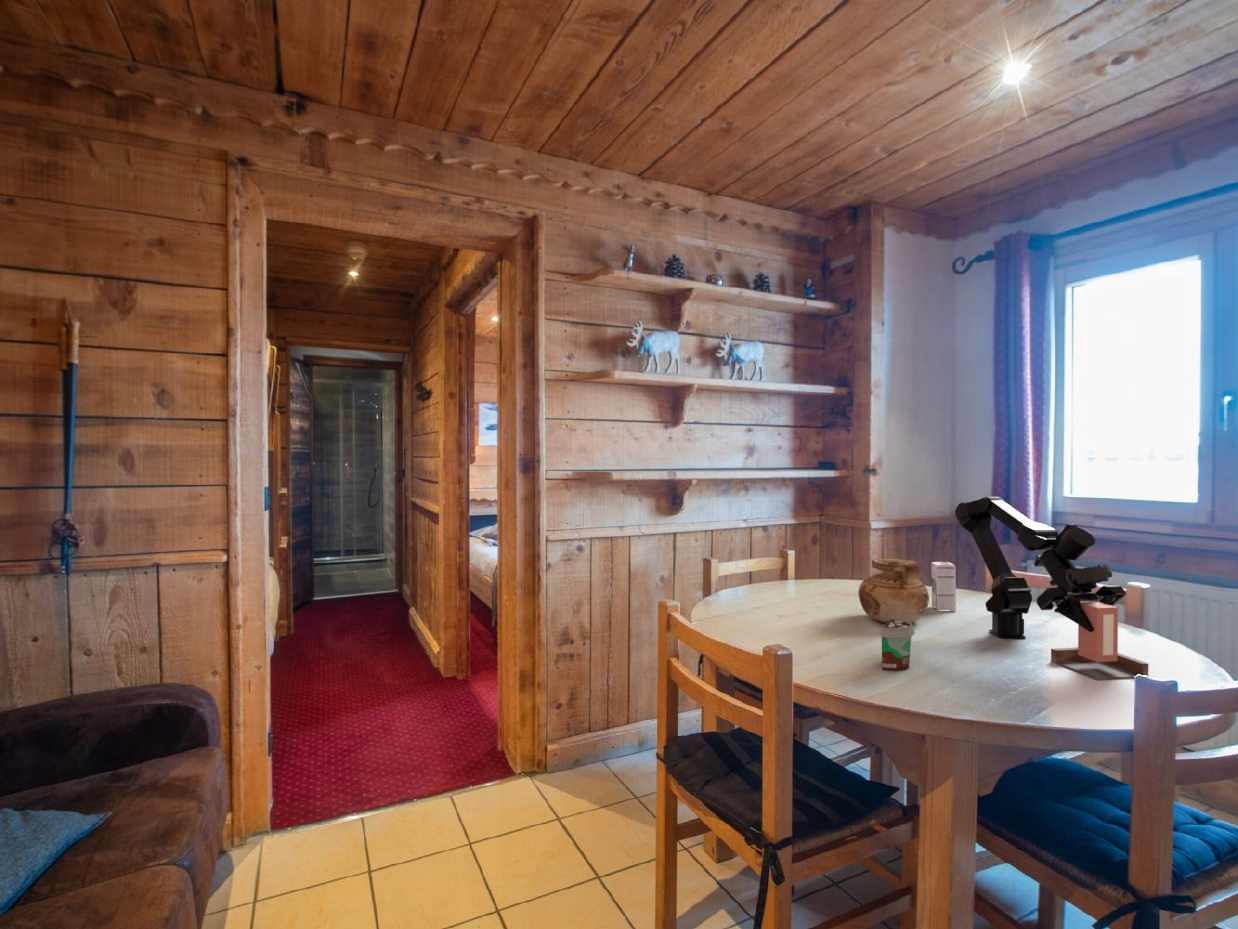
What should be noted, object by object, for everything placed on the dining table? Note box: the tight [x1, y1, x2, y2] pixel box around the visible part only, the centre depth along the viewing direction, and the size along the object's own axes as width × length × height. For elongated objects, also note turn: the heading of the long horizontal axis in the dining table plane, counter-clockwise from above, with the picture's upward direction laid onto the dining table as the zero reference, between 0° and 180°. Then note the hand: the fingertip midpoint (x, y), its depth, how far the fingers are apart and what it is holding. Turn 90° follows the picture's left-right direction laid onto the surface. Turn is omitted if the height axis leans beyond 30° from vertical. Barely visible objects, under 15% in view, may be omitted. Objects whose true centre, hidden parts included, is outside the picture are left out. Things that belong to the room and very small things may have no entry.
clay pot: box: [858, 557, 930, 624], centre depth 186 cm, size 19×19×20 cm
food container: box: [880, 616, 916, 672], centre depth 146 cm, size 12×6×10 cm, turn 148°
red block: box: [1077, 601, 1119, 662], centre depth 142 cm, size 5×5×12 cm
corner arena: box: [1050, 646, 1149, 681], centre depth 143 cm, size 12×12×3 cm
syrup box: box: [931, 561, 957, 612], centre depth 198 cm, size 6×6×14 cm
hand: (1103, 630), depth 141 cm, fingers closed on red block, 5 cm apart
